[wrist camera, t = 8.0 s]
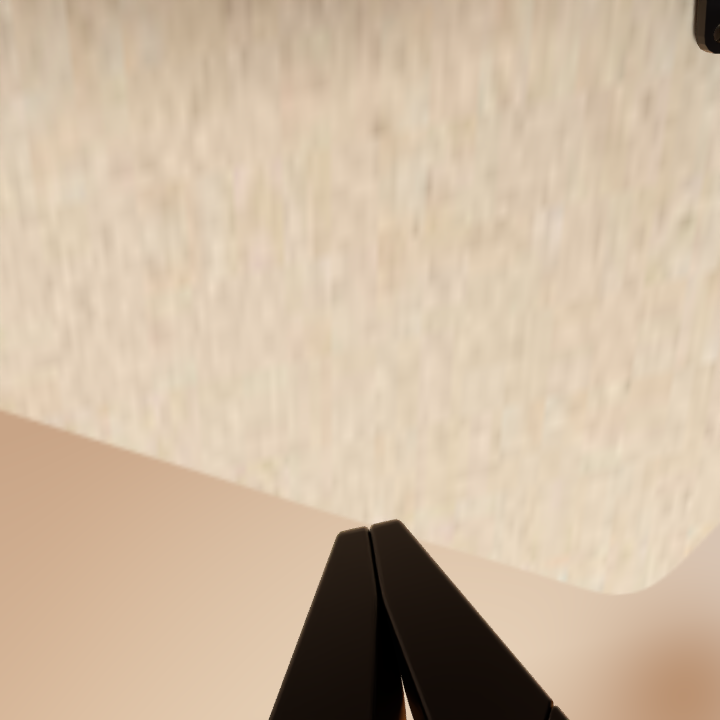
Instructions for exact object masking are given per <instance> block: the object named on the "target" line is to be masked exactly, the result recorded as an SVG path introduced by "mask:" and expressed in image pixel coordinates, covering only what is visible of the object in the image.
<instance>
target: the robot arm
mask: <svg viewBox="0 0 720 720" xmlns="http://www.w3.org/2000/svg"><path fill="white" fill-rule="evenodd" d="M719 24H720V0H698V8H697V25H696V41H697V44H698V46H699V47H700V49H702V50H703V51H705V52H709V53H714V54H720V39H719V40H717V41H715V40H714V31H715V29H716V27H717V26H718V25H719ZM401 678H402V679H401ZM402 681H403V685H404V689H405V693H406V696H407V700H408V703H409V706H410V709H411V713H412V716H413V719H414V720H569V719H568V718H567V716H566V715H565V714H564V713H563V712H562V711H561V709H560V708H559V707H558V706H554V705H553V701H552V699H551V698H550V697H549V696H548V695H547V693H546V692H545V691H544V690H543V689H542V687H541V686H540V685H539V684H538V683H537V682H536V680H535V679H534V678H533V677H532V676H531V674H530V673H529V672H528V671H527V670H526V668H525V667H524V666H523V665H522V664H521V663H520V661H519V660H518V659H517V658H516V657H515V655H514V654H513V653H512V652H511V651H510V650H509V648H508V647H507V646H506V645H505V644H504V642H503V641H502V640H501V639H500V638H499V636H498V635H497V634H496V633H495V632H494V631H493V629H492V628H491V627H490V626H489V625H488V623H487V622H486V621H485V620H484V619H483V618H482V616H481V615H480V614H479V613H478V612H477V611H476V610H475V608H474V607H473V606H472V605H471V603H470V602H469V601H468V600H467V599H466V597H465V596H464V595H463V594H462V593H461V591H460V590H459V589H458V588H457V587H456V586H455V584H454V583H453V582H452V581H451V580H450V579H449V577H448V576H447V575H446V574H445V573H444V572H443V570H442V569H441V568H440V567H439V565H438V564H437V563H436V562H435V561H434V560H433V558H432V557H431V556H430V555H429V554H428V552H426V550H425V549H424V548H423V547H422V545H421V544H420V543H419V542H418V541H417V539H416V538H415V537H414V536H413V535H412V533H411V532H410V531H409V530H408V529H407V528H406V526H405V525H404V524H403V523H402V522H401V521H400V520H397V519H394V520H390V521H386V522H381V523H377V524H373V525H372V526H371V527H370V531H369V529H368V528H367V527H359V528H355V529H350V530H346V531H342V532H340V533H339V534H338V535H337V537H336V540H335V542H334V545H333V548H332V550H331V553H330V556H329V558H328V561H327V564H326V566H325V569H324V572H323V575H322V577H321V580H320V583H319V586H318V588H317V591H316V594H315V596H314V599H313V602H312V605H311V607H310V610H309V612H308V615H307V618H306V620H305V623H304V626H303V629H302V631H301V634H300V637H299V639H298V642H297V645H296V648H295V650H294V653H293V655H292V658H291V661H290V664H289V666H288V669H287V672H286V674H285V677H284V680H283V682H282V685H281V688H280V691H279V693H278V696H277V699H276V702H275V704H274V707H273V710H272V712H271V715H270V717H269V720H406V709H405V700H404V691H403V685H402Z"/></svg>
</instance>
